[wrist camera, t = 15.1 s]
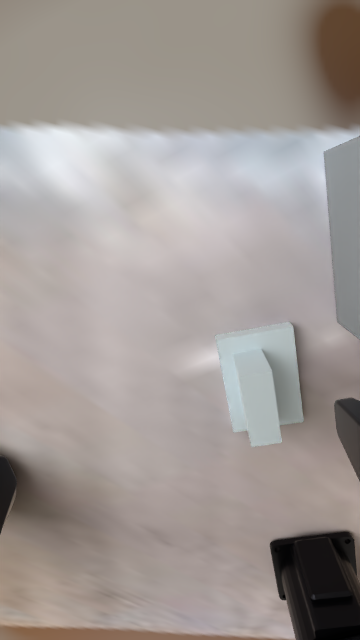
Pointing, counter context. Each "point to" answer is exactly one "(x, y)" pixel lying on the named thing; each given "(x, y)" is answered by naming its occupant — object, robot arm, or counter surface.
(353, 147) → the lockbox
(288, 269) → the counter surface
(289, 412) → the cover
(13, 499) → the plastic bottle
